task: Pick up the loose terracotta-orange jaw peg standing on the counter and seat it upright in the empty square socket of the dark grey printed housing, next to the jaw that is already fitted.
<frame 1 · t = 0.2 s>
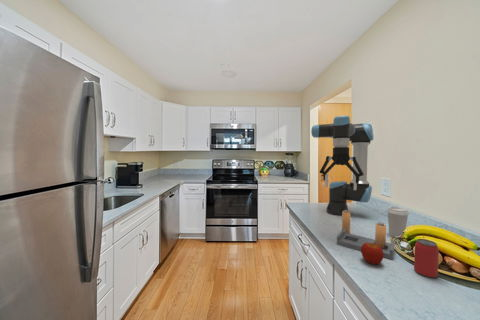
hand: (340, 188, 104), 27 cm above the worktop, fingers open, 13 cm apart
jaw peg: (345, 233, 113), on the worktop
apple: (371, 262, 84), on the worktop
coffee cup: (396, 236, 109), on the worktop
housing: (365, 246, 97), on the worktop
beer can: (425, 273, 76), on the worktop
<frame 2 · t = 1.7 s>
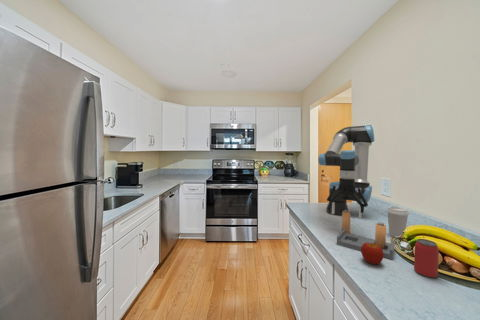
hand: (346, 216, 112), 10 cm above the worktop, fingers open, 13 cm apart
nothing on the worktop moved.
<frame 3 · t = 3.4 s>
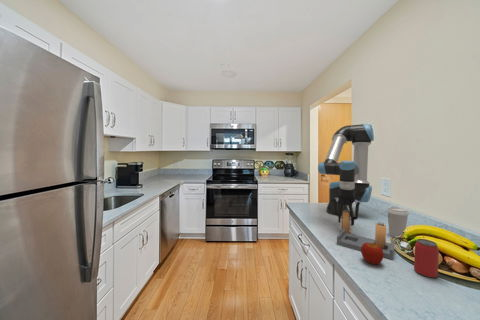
hand: (346, 229, 113), 2 cm above the worktop, fingers closed on jaw peg, 4 cm apart
jaw peg: (345, 232, 113), on the worktop, touching gripper
everything else where it was.
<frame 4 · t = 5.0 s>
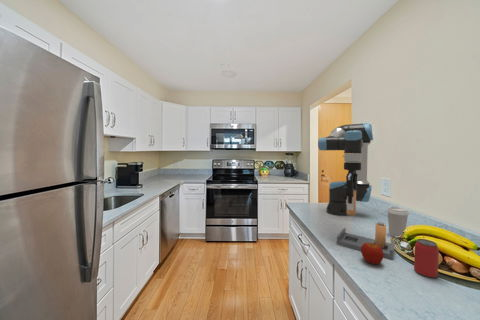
hand: (351, 208, 101), 17 cm above the worktop, fingers closed on jaw peg, 4 cm apart
jaw peg: (351, 214, 101), point 14 cm above the worktop, touching gripper
everything else where it was.
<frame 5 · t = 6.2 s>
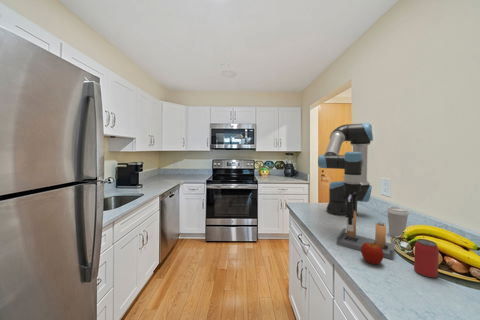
hand: (351, 229, 101), 7 cm above the worktop, fingers closed on jaw peg, 4 cm apart
jaw peg: (351, 234, 101), point 4 cm above the worktop, touching gripper
everything else where it was.
when the fingers open (4 cm above the worktop, at t = 7.1 s): jaw peg stays where it is, resting in housing.
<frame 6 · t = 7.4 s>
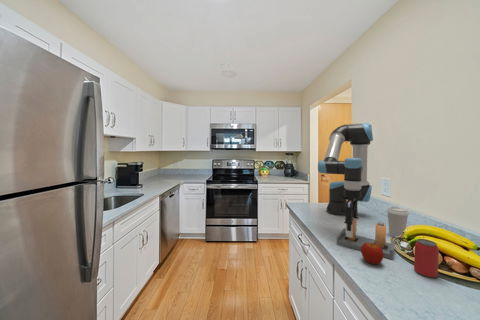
hand: (351, 233, 101), 5 cm above the worktop, fingers open, 8 cm apart
jaw peg: (351, 242, 101), resting in housing
everything else where it was.
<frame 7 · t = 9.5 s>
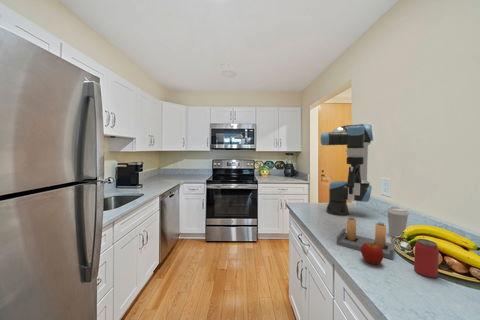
hand: (354, 197, 104), 22 cm above the worktop, fingers open, 13 cm apart
nothing on the worktop moved.
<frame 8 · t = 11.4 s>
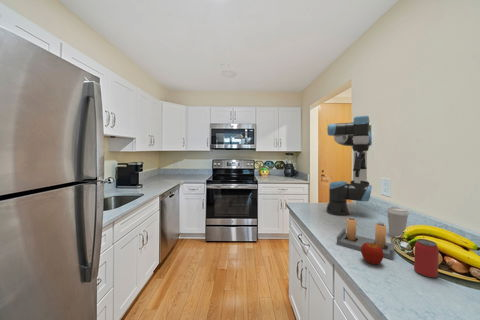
hand: (359, 181, 114), 29 cm above the worktop, fingers open, 13 cm apart
nothing on the worktop moved.
at the end: jaw peg 0.1 cm from the target spot on the housing, point 0.0 cm above the housing's base; jaw peg tilted 0°; the gripper is holding nothing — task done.
